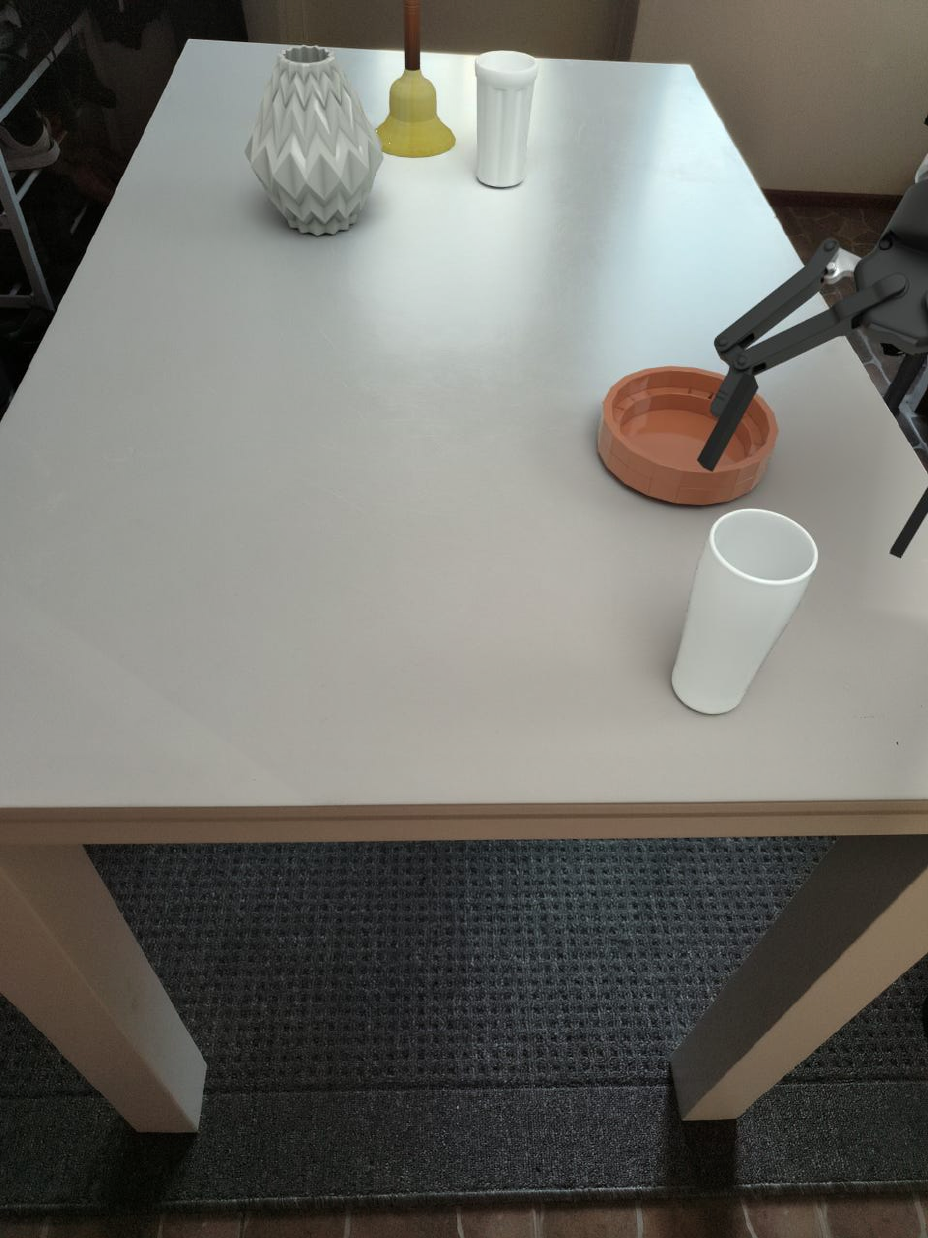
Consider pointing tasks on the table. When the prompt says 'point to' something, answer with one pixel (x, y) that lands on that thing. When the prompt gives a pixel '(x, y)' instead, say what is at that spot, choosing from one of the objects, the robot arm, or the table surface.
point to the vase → (313, 142)
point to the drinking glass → (740, 605)
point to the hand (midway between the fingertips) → (795, 508)
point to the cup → (503, 114)
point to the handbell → (413, 102)
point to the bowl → (681, 437)
